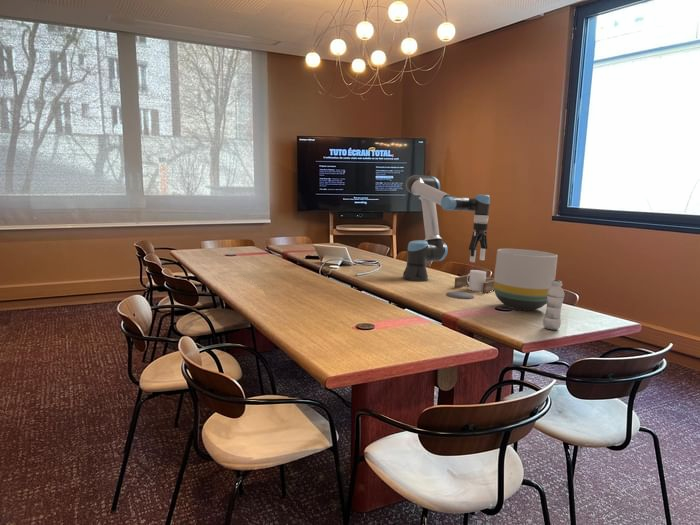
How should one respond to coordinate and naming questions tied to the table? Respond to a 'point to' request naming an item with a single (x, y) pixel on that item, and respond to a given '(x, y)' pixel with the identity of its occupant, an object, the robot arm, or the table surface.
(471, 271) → the mug
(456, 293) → the coaster
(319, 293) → the table surface
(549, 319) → the plastic bottle
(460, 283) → the dock
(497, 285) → the planter
